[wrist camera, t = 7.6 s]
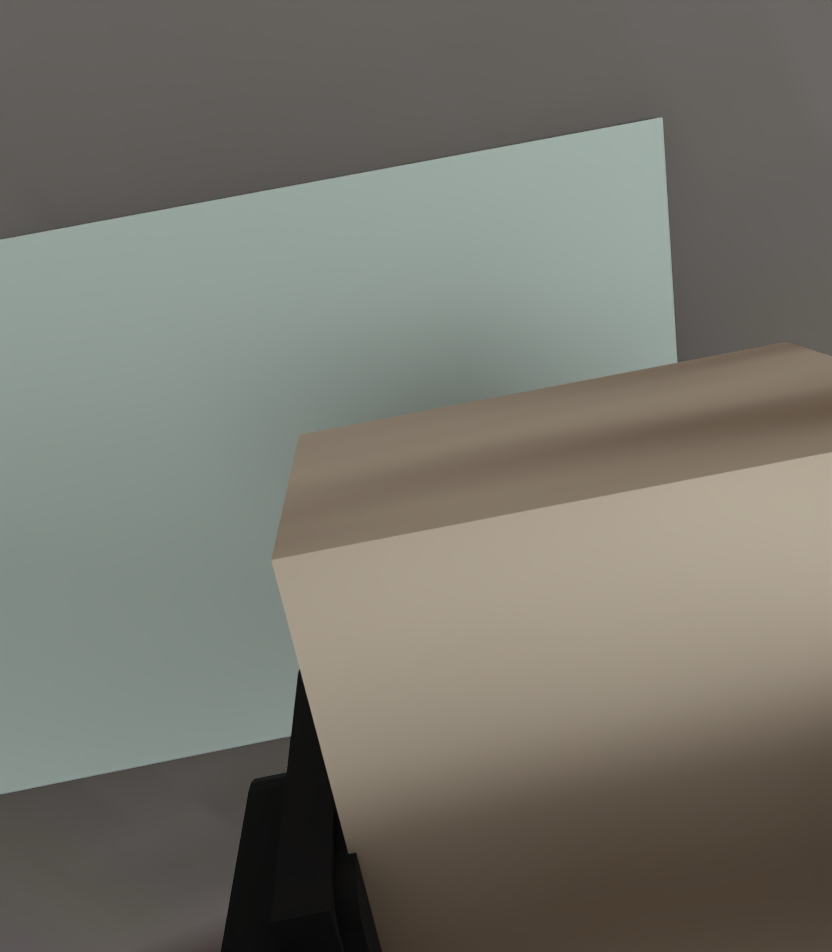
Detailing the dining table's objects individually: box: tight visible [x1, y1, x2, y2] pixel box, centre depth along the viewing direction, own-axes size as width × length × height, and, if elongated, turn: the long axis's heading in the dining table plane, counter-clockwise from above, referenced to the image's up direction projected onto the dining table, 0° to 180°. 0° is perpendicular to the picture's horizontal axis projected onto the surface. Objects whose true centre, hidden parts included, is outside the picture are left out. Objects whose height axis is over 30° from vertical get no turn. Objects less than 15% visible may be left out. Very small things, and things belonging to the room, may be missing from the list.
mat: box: [0, 117, 677, 794], centre depth 21 cm, size 22×15×1 cm
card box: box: [271, 342, 832, 952], centre depth 9 cm, size 9×6×4 cm, turn 10°
